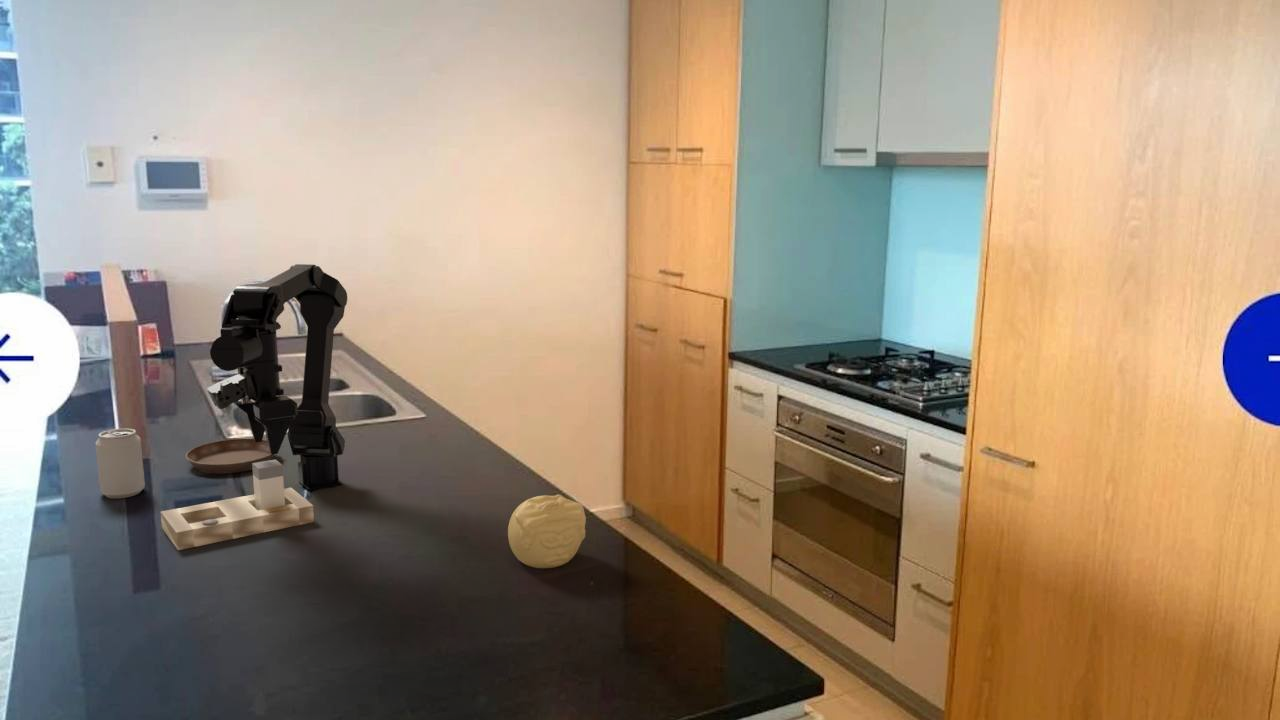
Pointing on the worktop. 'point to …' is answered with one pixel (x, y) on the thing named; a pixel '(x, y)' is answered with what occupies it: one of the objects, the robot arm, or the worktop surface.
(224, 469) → the plant saucer
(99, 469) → the can
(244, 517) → the socket block
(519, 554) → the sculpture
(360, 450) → the worktop surface
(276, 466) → the plug
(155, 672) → the worktop surface
